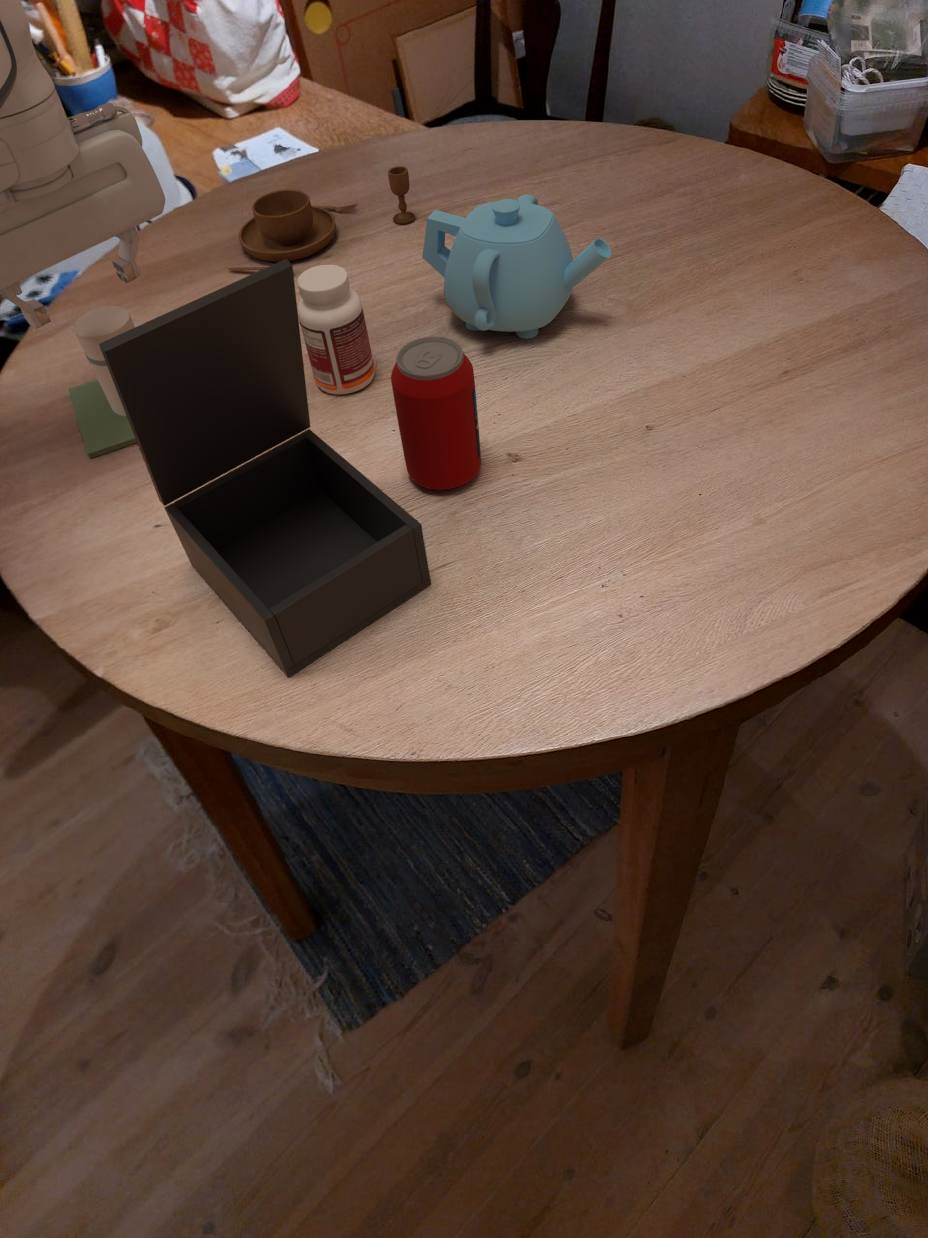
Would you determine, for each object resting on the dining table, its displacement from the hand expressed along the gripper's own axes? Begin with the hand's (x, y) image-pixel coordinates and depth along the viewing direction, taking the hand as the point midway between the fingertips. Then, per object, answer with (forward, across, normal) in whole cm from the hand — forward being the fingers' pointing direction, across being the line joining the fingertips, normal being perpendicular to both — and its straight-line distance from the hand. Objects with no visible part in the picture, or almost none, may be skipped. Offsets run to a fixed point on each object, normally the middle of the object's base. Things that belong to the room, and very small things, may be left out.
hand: (86, 300), depth 79 cm
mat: (+12, 0, 0) cm, 12 cm away
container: (+11, 0, 0) cm, 11 cm away
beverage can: (+12, -13, +32) cm, 36 cm away
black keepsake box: (+12, +3, +32) cm, 34 cm away
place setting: (+12, -33, -10) cm, 36 cm away
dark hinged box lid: (-3, +3, +27) cm, 27 cm away
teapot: (+12, -36, +20) cm, 43 cm away
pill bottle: (+12, -16, +14) cm, 25 cm away
